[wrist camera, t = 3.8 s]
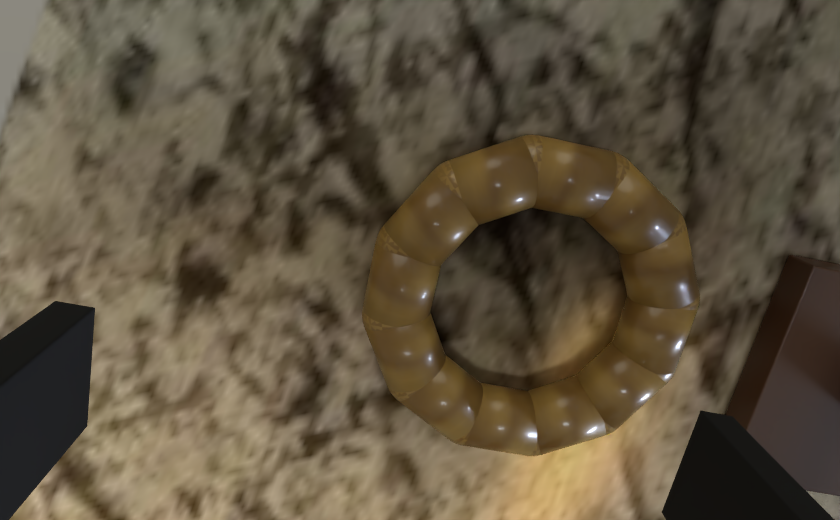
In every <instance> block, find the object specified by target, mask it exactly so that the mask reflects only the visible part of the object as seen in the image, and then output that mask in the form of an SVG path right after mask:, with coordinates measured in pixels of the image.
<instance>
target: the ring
mask: <svg viewBox="0 0 840 520" xmlns="http://www.w3.org/2000/svg"><path fill="white" fill-rule="evenodd" d="M529 208H536V209H541V210H546V211H551V212H556V213H561V214H566V215H571V216H576V217H580V218H583V219H585V220H586V221H587V222H588V223H589V224H590V225H591V226H592V227H593V228H594V229H595V230H596V231H597V232H598V233H599V234H600V235H601V236H603V237H604V238H605V239H606V240H607V241H608V242H609V243H610V244H611V245H612V246H613V247H614V248H615V249H616V250H617V252H618V256H619V261H620V265H621V269H622V273H623V277H624V281H625V286H626V290H627V294H628V295H627V298H626V301H625V304H624V308H623V311H622V314H621V317H620V320H619V323H618V326H617V329H616V332H615V335H614V338H613V341H612V342H611V343H610V344H609V345H607V346H606V347H605V348H604V349H603V350H602V351H601V352H600V353H599V354H598V355H597V356H596V357H595V358H594V359H593V360H592V361H591V362H590V363H589V364H588V365H587V366H585V367H584V368H583V369H582V370H581V371H580V372H579V373H578V374H577V375H576V376H573V377H570V378H567V379H563V380H560V381H557V382H554V383H550V384H547V385H544V386H541V387H537V388H534V389H531V390H528V391H526V390H520V389H514V388H509V387H503V386H497V385H491V384H485V383H480V382H479V381H477V380H476V379H475V378H474V377H472V376H471V375H470V374H469V373H467V372H466V371H465V370H464V369H463V368H461V367H460V366H459V365H458V364H456V363H455V362H454V361H453V360H451V359H450V358H449V357H448V356H446V355H445V353H444V350H443V347H442V345H441V342H440V339H439V336H438V333H437V330H436V327H435V324H434V321H433V319H432V316H431V313H430V312H431V307H432V303H433V299H434V294H435V290H436V286H437V281H438V277H439V273H440V268H441V265H442V263H443V262H444V261H445V260H446V259H447V258H448V257H449V256H450V255H451V254H452V253H453V252H454V251H455V250H456V249H457V248H458V246H459V245H460V244H461V243H462V242H463V241H464V240H465V239H466V238H467V237H468V236H469V235H470V234H471V233H472V232H473V231H474V229H475V228H476V227H477V226H478V225H480V224H483V223H486V222H489V221H493V220H496V219H499V218H502V217H505V216H508V215H511V214H514V213H517V212H520V211H523V210H526V209H529ZM699 302H700V292H699V287H698V282H697V277H696V272H695V267H694V262H693V257H692V252H691V247H690V242H689V237H688V232H687V227H686V223H685V220H684V218H683V216H682V214H681V213H680V212H679V211H678V209H677V208H676V207H675V206H674V205H673V204H672V203H671V202H670V201H669V200H668V199H667V198H666V197H665V196H664V195H663V194H662V193H661V192H660V191H659V190H658V189H657V188H656V187H655V186H654V185H653V184H652V183H651V182H650V181H649V180H648V179H647V178H646V177H645V176H644V175H643V174H642V173H641V172H640V171H639V170H638V169H637V168H636V167H635V166H634V165H633V164H632V163H631V162H630V161H629V160H627V159H626V158H625V157H624V156H622V155H620V154H619V153H616V152H613V151H609V150H605V149H600V148H595V147H591V146H586V145H581V144H577V143H572V142H568V141H563V140H558V139H554V138H549V137H544V136H540V135H524V136H520V137H517V138H514V139H511V140H508V141H505V142H502V143H499V144H496V145H493V146H490V147H487V148H484V149H481V150H478V151H475V152H472V153H469V154H466V155H463V156H460V157H457V158H454V159H450V160H448V161H445V162H443V163H441V164H440V165H438V166H437V167H436V168H435V169H434V170H433V171H432V172H431V173H430V174H429V175H428V176H427V177H426V179H425V180H424V181H423V182H422V183H421V184H420V185H419V186H418V187H417V189H416V190H415V191H414V192H413V193H412V194H411V195H410V196H409V197H408V199H407V200H406V201H405V202H404V203H403V204H402V205H401V206H400V207H399V209H398V210H397V211H396V212H395V213H394V214H393V215H392V216H391V217H390V219H389V220H388V221H387V222H386V223H385V224H384V225H383V227H382V228H381V230H380V231H379V233H378V236H377V239H376V243H375V248H374V253H373V258H372V263H371V268H370V273H369V278H368V283H367V288H366V293H365V298H364V303H363V309H362V319H363V324H364V327H365V330H366V332H367V335H368V337H369V340H370V343H371V345H372V348H373V350H374V353H375V356H376V358H377V361H378V363H379V366H380V369H381V371H382V374H383V376H384V379H385V382H386V384H387V387H388V389H389V391H390V392H391V394H392V395H393V396H394V397H395V398H396V399H397V400H398V401H399V402H401V403H402V404H403V405H404V406H406V407H407V408H408V409H410V410H411V411H412V412H414V413H415V414H416V415H417V416H419V417H420V418H421V419H423V420H424V421H425V422H427V423H428V424H429V425H430V426H432V427H433V428H434V429H436V430H437V431H438V432H440V433H441V434H442V435H443V436H445V437H446V438H447V439H449V440H450V441H452V442H454V443H456V444H459V445H463V446H470V447H476V448H482V449H488V450H494V451H501V452H507V453H513V454H519V455H525V456H538V455H542V454H546V453H549V452H552V451H555V450H559V449H562V448H565V447H569V446H572V445H575V444H579V443H582V442H585V441H588V440H592V439H595V438H598V437H602V436H605V435H607V434H610V433H612V432H613V431H615V430H616V429H617V428H619V427H620V426H621V425H622V424H623V423H624V422H625V421H626V420H627V419H628V418H629V417H631V416H632V415H633V414H634V413H635V412H636V411H637V410H638V409H639V408H640V407H641V406H643V405H644V404H645V403H646V402H647V401H648V400H649V399H650V398H651V397H652V396H654V395H655V394H656V393H657V392H658V391H659V390H660V389H661V388H662V387H663V386H664V385H666V384H667V383H668V382H669V380H670V379H671V378H672V377H673V375H674V373H675V370H676V368H677V365H678V362H679V359H680V357H681V354H682V351H683V348H684V346H685V343H686V340H687V337H688V335H689V332H690V329H691V326H692V324H693V321H694V318H695V315H696V313H697V310H698V307H699Z"/></svg>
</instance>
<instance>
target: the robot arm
mask: <svg viewBox="0 0 840 520" xmlns="http://www.w3.org/2000/svg"><path fill="white" fill-rule="evenodd" d="M94 315H95V308H93V307H87V306H81V305H75V304H69V303H63V302H58V301H55V302H53V303H52V304H51V305H49V306H48V307H46V308H45V309H44V310H42V311H41V312H39V313H38V314H36V315H35V316H34V317H32V318H31V319H29V320H28V321H27V322H25V323H24V324H22V325H21V326H19V327H18V328H17V329H15V330H14V331H12V332H11V333H10V334H8V335H7V336H5V337H4V338H3V339H1V340H0V520H9V519H10V518H11V516H12V515H13V514H14V513H15V512H16V510H17V509H18V508H19V507H20V506H21V505H22V503H23V502H24V501H25V500H26V499H27V497H28V496H29V495H30V494H31V493H32V491H33V490H34V489H35V488H36V487H37V485H38V484H39V483H40V482H41V481H42V479H43V478H44V477H45V476H46V475H47V473H48V472H49V471H50V470H51V469H52V467H53V466H54V465H55V464H56V463H57V461H58V460H59V459H60V458H61V457H62V455H63V454H64V453H65V452H66V451H67V449H68V448H69V447H70V446H71V445H72V444H73V442H74V441H75V440H76V439H77V438H78V436H79V435H80V434H81V433H82V432H83V430H84V429H85V428H86V427H87V420H88V405H89V390H90V375H91V360H92V345H93V330H94ZM662 513H663V515H664V517H665V518H666V520H834V519H833V518H832V517H831V516H830V515H829V514H828V513H827V512H826V511H825V510H824V509H823V508H822V507H821V506H820V505H819V504H818V503H817V502H816V501H815V500H814V499H813V498H812V497H811V496H810V495H809V494H808V493H807V492H806V491H805V490H804V488H803V487H802V486H801V485H800V484H799V483H798V482H797V481H796V480H795V479H794V478H793V477H792V476H791V475H790V474H789V473H788V472H787V471H786V470H785V469H784V468H783V467H782V466H781V465H780V464H779V463H778V462H777V461H776V460H775V459H774V458H773V457H772V456H771V455H770V454H769V453H768V452H767V451H766V450H765V449H764V448H763V447H762V446H761V445H760V444H759V443H758V442H757V441H756V440H755V439H754V438H753V437H752V436H751V435H750V434H749V433H748V432H747V431H746V430H745V429H744V428H743V426H742V425H741V424H740V423H739V422H738V421H737V420H736V419H735V418H734V417H733V416H729V415H723V414H717V413H711V412H705V411H700V414H699V417H698V419H697V422H696V424H695V427H694V430H693V432H692V435H691V437H690V440H689V443H688V445H687V448H686V450H685V453H684V456H683V458H682V461H681V464H680V466H679V469H678V471H677V474H676V477H675V479H674V482H673V484H672V487H671V490H670V492H669V495H668V497H667V500H666V503H665V505H664V508H663V510H662Z"/></svg>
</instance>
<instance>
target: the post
mask: <svg viewBox="0 0 840 520" xmlns="http://www.w3.org/2000/svg"><path fill="white" fill-rule="evenodd" d="M726 415H729V416H733V417H734V418H735V419H736V420H737V421H738V422H739V423H740V424H741V425H742V426H743V428H744V429H745V430H746V431H747V432H748V433H749V434H750V435H751V436H752V437H753V438H754V439H755V440H756V441H757V442H758V443H759V444H760V445H761V446H762V447H763V448H764V449H765V450H766V451H767V452H768V453H769V454H770V455H771V456H772V457H773V458H774V459H775V460H776V461H777V462H778V463H779V464H780V465H781V466H782V467H783V468H784V469H785V470H786V471H787V472H788V473H789V474H790V475H791V476H792V477H793V478H794V479H795V480H796V481H797V482H798V483H799V484H800V485H801V486H802V487H803V488H804V490H807V491H813V492H819V493H825V494H831V495H838V496H840V265H839V264H835V263H830V262H825V261H820V260H815V259H810V258H805V257H800V256H795V255H789V256H788V259H787V261H786V264H785V266H784V269H783V271H782V274H781V276H780V279H779V281H778V284H777V286H776V289H775V291H774V294H773V296H772V299H771V301H770V304H769V307H768V309H767V312H766V314H765V317H764V319H763V322H762V324H761V327H760V329H759V332H758V334H757V337H756V339H755V342H754V344H753V347H752V349H751V352H750V354H749V357H748V359H747V362H746V364H745V367H744V369H743V372H742V375H741V377H740V380H739V382H738V385H737V387H736V390H735V392H734V395H733V397H732V400H731V402H730V405H729V407H728V410H727V412H726Z"/></svg>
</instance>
